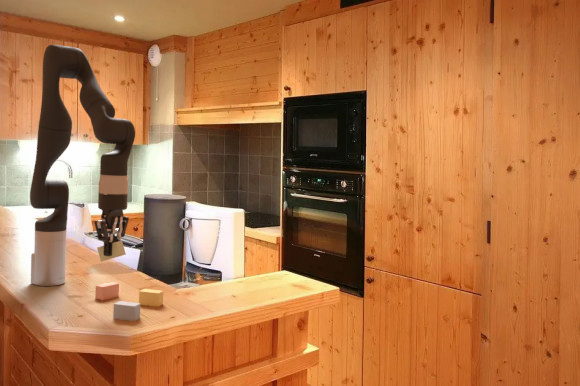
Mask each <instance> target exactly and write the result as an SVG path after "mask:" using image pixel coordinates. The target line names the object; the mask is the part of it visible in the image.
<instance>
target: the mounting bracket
mask: <svg viewBox="0 0 580 386" xmlns="http://www.w3.org/2000/svg"><path fill="white" fill-rule="evenodd" d="M178 286H181V287H182V288H196V287H199V286H201V284H199V283H194V282H188V281H187V282H183V283H180V284H178Z"/></svg>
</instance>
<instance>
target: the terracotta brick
mask: <svg viewBox="0 0 580 386" xmlns="http://www.w3.org/2000/svg"><path fill="white" fill-rule="evenodd" d="M119 292H120V283H118V282H114V281H111V282H106V283H100V284H97V285H95V297H94V298H95V299H96V300H100V301H104V300H105V301H106V300H109V299H112V298H117V297H119V295H120V294H119Z"/></svg>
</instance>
